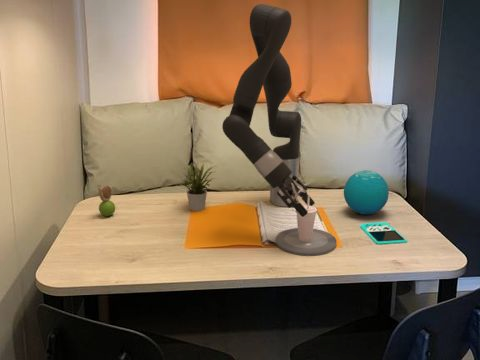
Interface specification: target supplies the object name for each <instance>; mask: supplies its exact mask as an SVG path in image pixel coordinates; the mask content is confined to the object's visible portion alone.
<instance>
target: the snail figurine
mask: <svg viewBox="0 0 480 360" xmlns="http://www.w3.org/2000/svg"><path fill="white" fill-rule="evenodd" d="M97 187H98V188H97V191H98V196H99V198H100V200H101V202H100V204H99V206H98V211H99V213H100V214H101V216H104V217H110V216H112V215H114V213H115V212H116V204H115V203H114V202H113V201H112V200H111V198H112V196H111V195H112V188H111V186H109V185H105V186H103V188H102V187H101V184H97Z"/></svg>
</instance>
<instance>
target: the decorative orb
mask: <svg viewBox="0 0 480 360" xmlns="http://www.w3.org/2000/svg"><path fill="white" fill-rule="evenodd" d="M389 188H390V187H389V186H388V183H387V181H386V180H385V178H384V177H383V176H382V175H381V174H380V173H378V172H375V171H372V170H366V169H365V170H364V169H363V170H360V171H357V172H355V173H353V174H352V175H350V176H349V177H348V179H347V180H346V182H345V185H344V187H343V198H344V200H345V203H346V204H347V206H348V207H349V208H350V210H352V211H353V212H355V213H357V214H358V215H359V214H360V215H372V214H376V213H378V212H380V210H382V209H383V208H384V207H385V206H386V204H387V202H388V199H389V194H390V191H389Z"/></svg>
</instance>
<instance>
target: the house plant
mask: <svg viewBox="0 0 480 360" xmlns="http://www.w3.org/2000/svg"><path fill="white" fill-rule="evenodd" d="M192 163H193V164H192V166H193V167H194V170H193V168H192V167H191V166H190V165H189V164H188V165H187V167H188V170H189V174H190V176H189V175H188V174H186V173H184V172H183V171H181V170H180V169H177V171H179V172H180V173H182V174H183V175H184V177H186V178H187V180H188V181H189V182H188V181H187V180H185V179H183V178H181V180H182V182H183V183H181V184H179V186H184V187H186V188H187V189H188V190H187V191H186V196H187V202H188V206H189V210H190V211H192V212H200V211H204V210H205V207H206V201H207V197H208V196H207V194H208V187H210V186H211V184H210V182H212V181H213V180H214V179H216V177H215V178H210V179H208V178H209V176H210V175H212V173H213V174H214V173H215V172H216V171H217V170H216V171H211V170H212V169H213V168H215V167H217V165H215V166H211V167H209V168H207V170H205V172H204V166H205V164H204V163H203V164H202V165H201V166H200V169H199V170H198V168H197V166H196V164H195V163H194V162H192ZM203 172H204V173H203ZM206 189H207V190H206Z"/></svg>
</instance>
